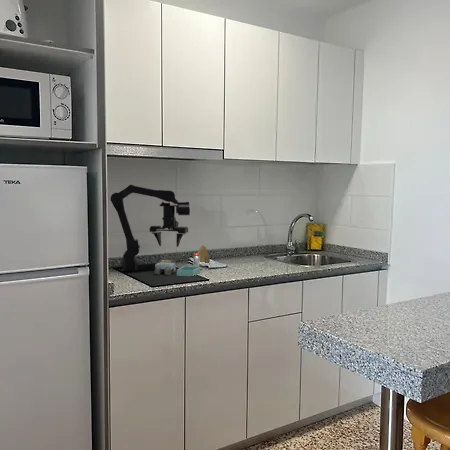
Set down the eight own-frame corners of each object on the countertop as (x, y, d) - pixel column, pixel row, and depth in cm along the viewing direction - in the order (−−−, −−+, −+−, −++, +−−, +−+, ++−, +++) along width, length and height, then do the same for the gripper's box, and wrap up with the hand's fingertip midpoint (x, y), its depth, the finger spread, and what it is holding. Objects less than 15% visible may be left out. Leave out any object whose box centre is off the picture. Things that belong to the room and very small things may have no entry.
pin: (192, 269, 228) (192, 254, 227) (194, 268, 230) (194, 253, 230) (198, 270, 227) (198, 254, 226) (200, 269, 230) (200, 253, 229)
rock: (215, 261, 243) (212, 255, 252) (206, 249, 240) (203, 244, 250) (199, 273, 243) (196, 267, 252) (189, 261, 240) (187, 255, 249)
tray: (176, 276, 213) (176, 269, 213) (184, 272, 223) (184, 266, 223) (193, 277, 211) (193, 270, 211) (199, 273, 221) (200, 267, 221)
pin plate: (188, 270, 226) (188, 270, 226) (192, 268, 232) (192, 268, 232) (200, 271, 225) (200, 270, 225) (203, 269, 231) (203, 268, 231)
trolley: (153, 275, 214) (153, 264, 214) (161, 271, 224) (161, 260, 223) (169, 276, 212) (169, 265, 212) (177, 272, 222) (177, 261, 221)
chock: (160, 271, 225) (160, 260, 224) (166, 268, 232) (167, 258, 232) (169, 272, 224) (169, 261, 223) (175, 269, 231) (175, 258, 231)
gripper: (191, 214, 231) (191, 245, 232) (157, 213, 235) (157, 243, 237) (184, 216, 220) (184, 248, 222) (149, 215, 224) (149, 246, 226)
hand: (168, 246), depth 227 cm, fingers open, 9 cm apart
